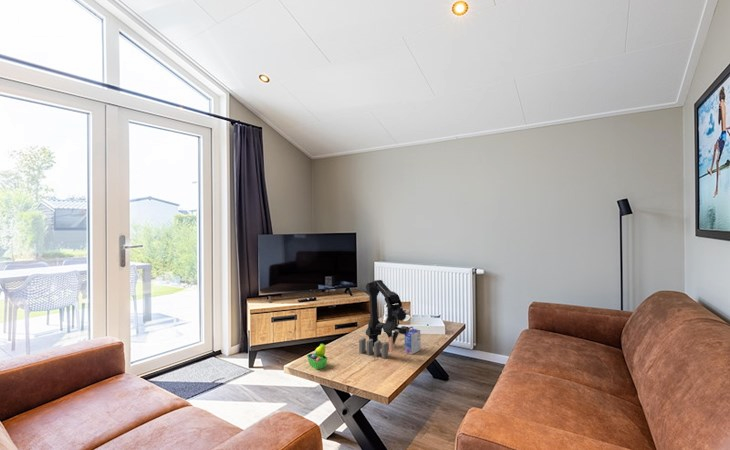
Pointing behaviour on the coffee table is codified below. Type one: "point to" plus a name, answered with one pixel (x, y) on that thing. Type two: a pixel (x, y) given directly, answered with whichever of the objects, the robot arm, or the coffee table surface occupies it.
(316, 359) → the fruit basket
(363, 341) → the domino
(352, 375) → the coffee table surface
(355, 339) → the coffee table surface
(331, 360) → the coffee table surface
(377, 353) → the domino
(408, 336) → the ink cartridge box
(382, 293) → the robot arm
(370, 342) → the domino
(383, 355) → the domino
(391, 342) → the domino
